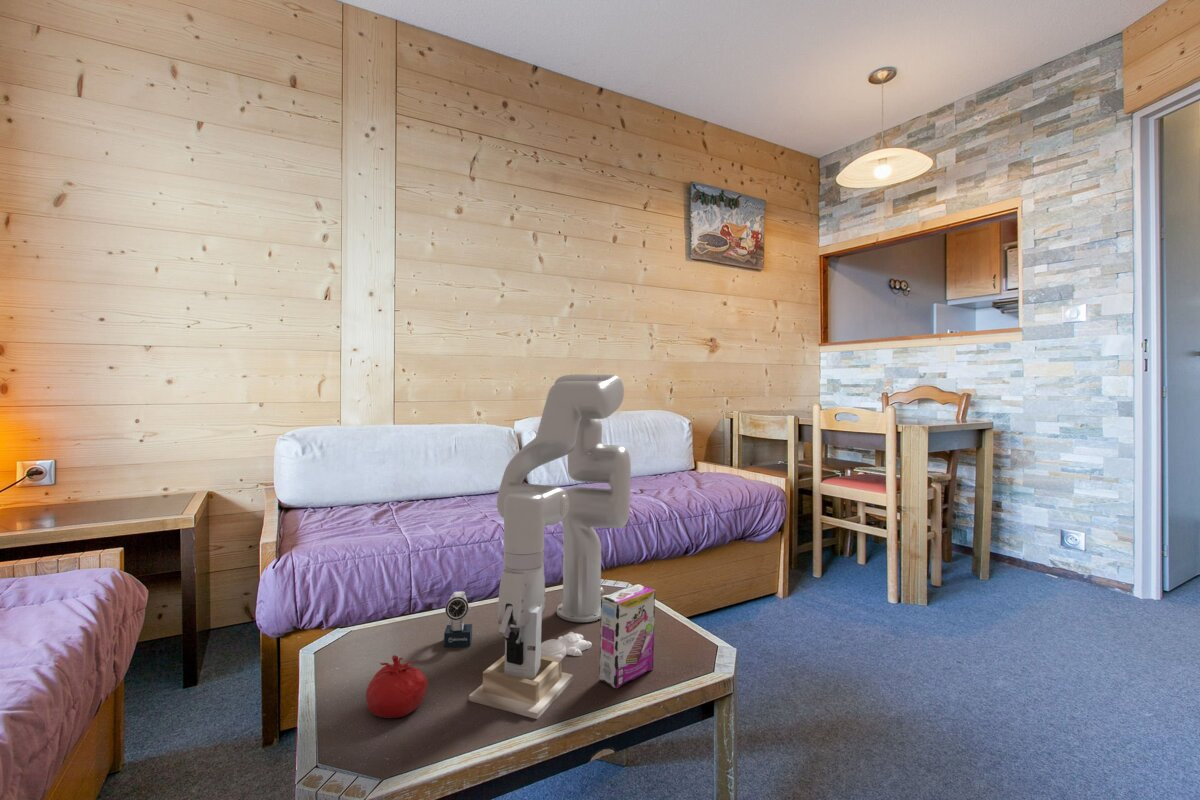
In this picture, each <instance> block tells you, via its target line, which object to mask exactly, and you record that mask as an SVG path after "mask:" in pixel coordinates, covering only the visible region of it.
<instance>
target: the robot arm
mask: <svg viewBox="0 0 1200 800" xmlns="http://www.w3.org/2000/svg"><path fill="white" fill-rule="evenodd" d="M624 395H625V387H624V384H623V381H622V379H621V378H620V377H619V376H618V375H615V374H582V373H581V374H580V373H579V374H567V375H566V374H565V375H562V376H560V377H558V378H556V380H555V381H554V384H553V385H552V386H551V387H550V388H549V391H548V394H547V397H546V399H545V400H546V401H545V402H544V408H543V411H542V414H541V418H540V422H539V425H538V430H537V433H536V436H535V437H534V438H533V439H532V440H531V441H529V442H528V443H527V444H526V445H524V446H523V447H522V448H521V449H520V450H519V451H518V452H517V453H516V454H515V455H514V456H513V457H512V458H511V459H510V461H509V462H508V464H507V465H506V468H504V471H503V476H502V478H501V481H500V485H499V488H498V489H499V490H498V493H497V500H496V509H497V512H498V514H499V516H500V517H501V518H502V519H503V569H502V573H501V577H500V583H499V588H498V589H499V591H498V604H497V623H498V624H499V625H500V626H499V630H498V634H499V635H501V636H502V637H503V638H504V642H505V641H506V642H507V662H508V663H513V664H517V665H522V664H523V642H521V639H522V632H523V626H524V625H525V624H527V623H528V622H529V619H530V613H531V611H533V610H534V609H535V608H537V607H538V606H539V605H542V612H543V611H544V610H545V606H546V579H545V569H544V568H545V527H546V526H551V525H556V524H558V523H560V522H561V523H562V524H561V525H562V535H563V537H562V539H563V546H562V548H563V549H562V550H563V552H562V553H563V556H562V557H563V559H562V561H563V562H562V602H561V603H560V604H558V605H557V607H556V615H557V616H558V617H559V618H561V619H562V620H564V621H568V622H571V623H591V622H595V621H599V620H601V596H602V594H603V593H605V589H604V588H603V587H602V585H601V584H602V583H601V582H602V579H601V578H602V543H601V540H600V536H599V535H598V533H597V532H596V529H594V528H602V529H603V528H605V529H606V528H607V529H621V528H624V527H626V526H627V524H628V522H629V518H630V511H631V509H630V508H631V481H632V479H631V476H632V475H631V474H632V473H631V470H632V468H631V458H630V454H629V452H628V450H627V448H625V447H624V446H622V445H616V444H603V424H602V422H601V420H603V419H607V418H608V417H610V416H612V414H614V413H615V412H616V411H617V410H618V409H619V408H620V406H621V405H622V403H623V400H624ZM565 456H567V471H568V476H569V478H570V479H571V480H573V481H576V482H584V483H596V484H608V485H609V486H610V488H602V487H601V488H599V487H589V486H588V487H586V486H585V487H583V486H578V487H577V486H576V487H570V488H569V489H567V490H565V489H563V488H562V487H561V486H556V485H550V484H549V485H545V484H537V483H536V484H535V483H534V484H533V483H523V482H524V480H525V478H526V477H527V476H528V475H529V474H530V473H531V472H532V471H534V470H535V469H537V468H538V467H540V466H543V465H545V464H548V463H550V462H552V461H555V460H558V459H560V458H562V457H565ZM598 619H599V620H598ZM513 620H514V621H516V624H515V623H513ZM512 628H516V629H517V634H515V633H514V632H512Z"/></svg>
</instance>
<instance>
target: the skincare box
mask: <svg viewBox="0 0 1200 800" xmlns="http://www.w3.org/2000/svg"><path fill="white" fill-rule="evenodd" d="M542 618H543V611H542V605H539V606H538V607H537V608H535V609H534V610H533V611H531V613H530V619H529V622H528V623H527V624H525V625H524V626H523V632H522V639H521V642H523V664H522V665H517V664H513V663H508V662H507V642H506V641H505V640H504V655H505V667H504V674H508V675H512V676H518V677H528V678H534V677H535V676H536V674H537V672H538V670H539V668H540V660H541V643H542V621H543V619H542ZM513 623H515V624H516V621H514V620H513ZM512 632H514V633H515V634H517V629H516V628H512Z"/></svg>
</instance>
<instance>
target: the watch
mask: <svg viewBox="0 0 1200 800" xmlns="http://www.w3.org/2000/svg"><path fill="white" fill-rule="evenodd" d="M471 607H472V606H469V602H468V599H467V596H466V592H465V591H454V592H453V593H452V595H451V596H450V598H449V600H448V601H447V602H446V604H445V611H444V613H445V615H446V617H447V620H448V623H449V624H447V625H446V626H445V630H444V634H443V640H444V641H443V647H444V649H445V648H462V647H463V648H465V647H467V646H468V647H471V644H472V640H473V623H465V621H466V618H467V615H468V613H469V611H471V610H472V609H471Z"/></svg>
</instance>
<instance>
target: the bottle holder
mask: <svg viewBox="0 0 1200 800" xmlns="http://www.w3.org/2000/svg"><path fill="white" fill-rule="evenodd" d="M562 660H563V659H562ZM562 660H560V659H556V658H551V657H546V656H542V655H541V660H540V668H539V670H538V672H537V674H536V676H535V677H534V678H528V677H518V676H512V675H508V674H504V667H505V654H504V655H503V656H501V657H500V658H499V659H498V660H496V661H495V662H494V663H492V664H491V665H490V666H489V667H487V668H486V669H485V670H483V672H482V683H481V685H480V686H478V687H477V688H476V689H475V690H474V691H472V692H471V693H470V694H469V695H468V701H469V702H473V703H477V704H480V705H484V706H487V707H490V708H495V709H498V710H502V711H506V712H510V713H513V714H517V715H521V716H523V717H527V718H531V719H535V720H538V719H539V718H540V717H541V716H542V715H543V714H544V713H545V712H546V711H547V709H548V708H549V707H550V706H551V705H552V704H553V702H555V700H556V699H557V698H559V696H560V695H561V694H562V693H563V692H564V691H565V689H566V688H568V686H569V685H570V684H571V683H572V682H573V681H574V674H572V673H568V672H563V671H562V669H563V668H562V667H563V666H562V663H563V662H562Z"/></svg>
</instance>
